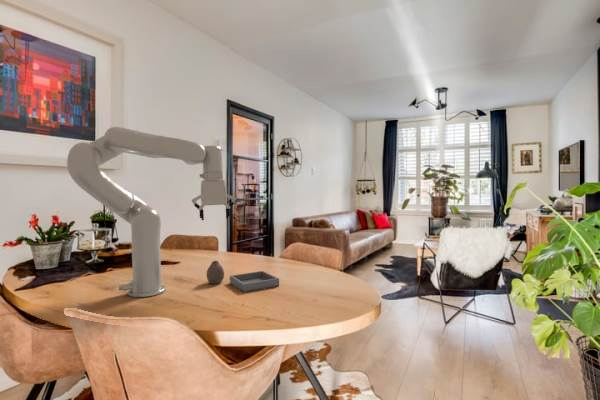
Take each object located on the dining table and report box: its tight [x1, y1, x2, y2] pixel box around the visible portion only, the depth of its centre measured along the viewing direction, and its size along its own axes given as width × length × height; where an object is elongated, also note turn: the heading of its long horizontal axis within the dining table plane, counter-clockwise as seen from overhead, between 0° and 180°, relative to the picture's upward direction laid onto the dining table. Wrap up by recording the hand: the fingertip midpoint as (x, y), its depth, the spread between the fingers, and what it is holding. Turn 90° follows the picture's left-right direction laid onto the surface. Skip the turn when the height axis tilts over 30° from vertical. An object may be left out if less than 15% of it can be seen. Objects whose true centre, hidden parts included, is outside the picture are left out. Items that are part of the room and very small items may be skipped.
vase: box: [206, 260, 225, 285], centre depth 134 cm, size 7×7×9 cm
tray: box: [229, 270, 280, 293], centre depth 132 cm, size 15×15×3 cm
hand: (215, 219), depth 135 cm, fingers open, 9 cm apart
